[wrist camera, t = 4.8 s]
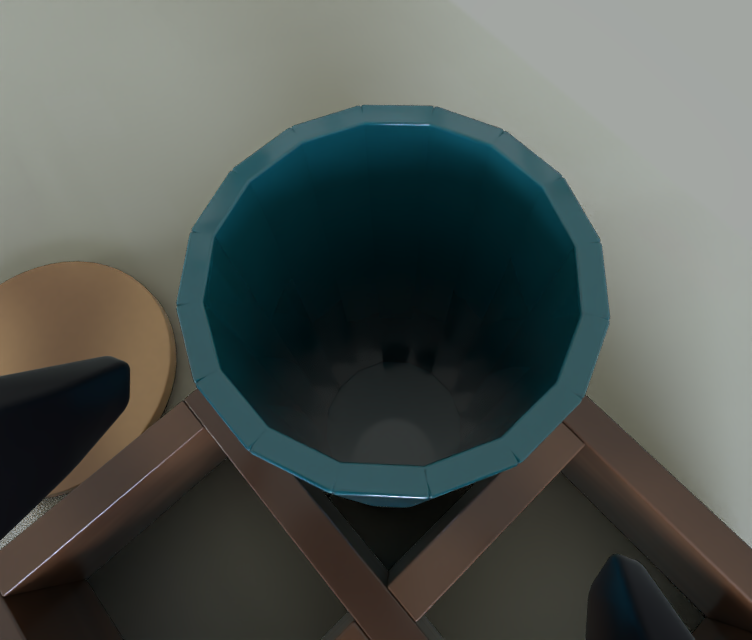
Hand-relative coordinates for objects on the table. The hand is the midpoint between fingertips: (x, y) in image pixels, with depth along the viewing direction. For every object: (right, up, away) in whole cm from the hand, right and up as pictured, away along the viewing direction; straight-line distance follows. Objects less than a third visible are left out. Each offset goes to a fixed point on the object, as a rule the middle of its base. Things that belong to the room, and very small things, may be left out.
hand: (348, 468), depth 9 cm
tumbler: (+1, -1, +10) cm, 10 cm away
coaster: (-12, +1, +11) cm, 16 cm away
